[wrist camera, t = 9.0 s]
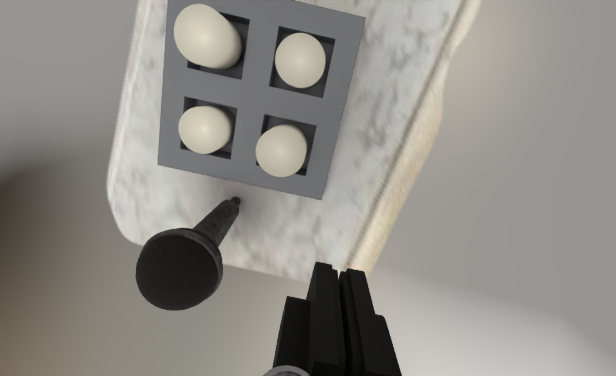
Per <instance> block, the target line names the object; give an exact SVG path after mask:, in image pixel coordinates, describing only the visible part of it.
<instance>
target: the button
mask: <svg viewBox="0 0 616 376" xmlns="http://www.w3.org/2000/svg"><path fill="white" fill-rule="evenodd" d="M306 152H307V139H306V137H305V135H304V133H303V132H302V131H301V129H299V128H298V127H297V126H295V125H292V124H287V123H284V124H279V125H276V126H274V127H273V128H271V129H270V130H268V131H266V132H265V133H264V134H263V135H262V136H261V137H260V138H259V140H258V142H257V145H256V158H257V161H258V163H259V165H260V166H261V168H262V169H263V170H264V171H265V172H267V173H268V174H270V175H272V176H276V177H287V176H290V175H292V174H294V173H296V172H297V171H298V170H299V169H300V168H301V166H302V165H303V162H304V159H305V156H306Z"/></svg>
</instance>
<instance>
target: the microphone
mask: <svg viewBox="0 0 616 376" xmlns="http://www.w3.org/2000/svg"><path fill="white" fill-rule="evenodd" d="M239 204H240V200H239V199H238V198H237V197H233V198H232V199H231V200H225V201H223V202H221V203H220V204H219V205H218V206H217V207H216V208H215V209H214V210H213V211H212V212H210V213H209V214H208V215H207V216H206V217H205V218H204V219H203V220H202V221H201V222H200V223H199V224H197V225H196V226H195V227H194V228H193V229H190V228H177V229H171V230H166V231H163V232H160V233H158V234H156V235H154V236H153V237H151V238H150V239H149V240H148V241H147V242H146V244H145V245H144V247H143V249H142V251H141V254H140V257H139V259H138V262H137V265H136V282H137V284H138V287H139V290H140V292H141V293H142V295H143V296H144V298H146V300H147V301H149V302H150V303H151V304H153V305H154V306H156V307H159V308H161V309H165V310H185V309H188V308H191V307H194V306H196V305H198V304H199V303H201V302H202V301H204V300H205V299H207V298H208V297H210V296H211V295H212V294H213V293H214V292H215V291H216V290H217V289H218V287H219V285H220V283H221V280H222V275H223V265H222V257H221V253H220V251H219V249H218V247H219V245H220V244H221V242H222V240H223V239H224V237H225V235H226V234H227V232H228V230H229V229H230V227H231V225H232V224H233V222H234V220H235V219H236V217H237V215H238V213H239V207H238V205H239Z"/></svg>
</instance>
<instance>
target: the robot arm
mask: <svg viewBox="0 0 616 376" xmlns="http://www.w3.org/2000/svg"><path fill="white" fill-rule="evenodd" d="M263 376H402V375H401V372H400V368H399V364H398V361H397V358H396V354H395V351H394V347H393V344H392V340H391V337H390V334H389V330H388V327H387V324H386V321H385V318H384V317H383V316H381V315H377V314H375V311H374V307H373V304H372V300H371V296H370V292H369V288H368V284H367V280H366V276H365V273H364V272H363V271H359V270H354V269H350V268H348V269H347V271H346V272H343V271H341V273H340V275H339V279H338V273H337V270H334V269H332V265H331V264H326V263H321V262H316V263H315V266H314V270H313V274H312V278H311V282H310V286H309V290H308V293H307V297H306V300H304V299H299V298H295V297H290V296H287V298H286V302H285V306H284V311H283V315H282V320H281V325H280V330H279V334H278V340H277V345H276V351H275V357H274V362H273V368H272V369H270V370H269V371H268V372H267V373H266V374H264V375H263Z"/></svg>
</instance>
